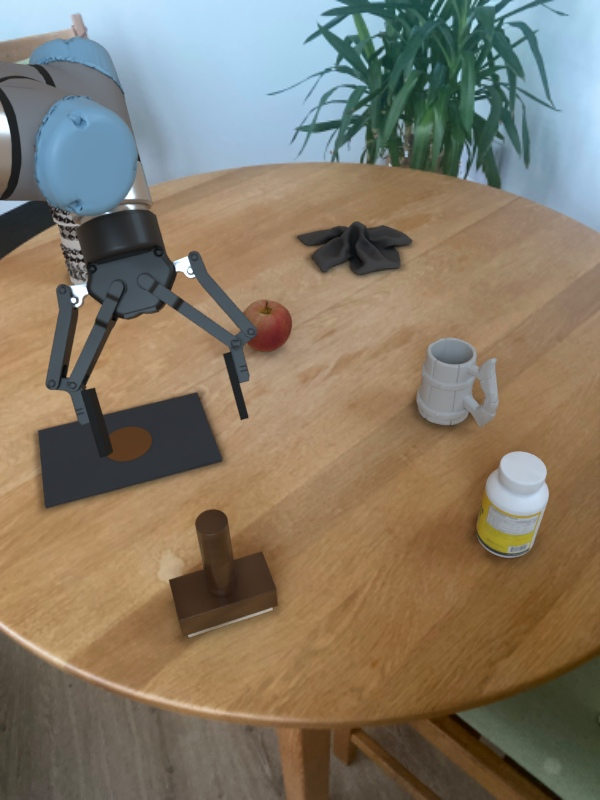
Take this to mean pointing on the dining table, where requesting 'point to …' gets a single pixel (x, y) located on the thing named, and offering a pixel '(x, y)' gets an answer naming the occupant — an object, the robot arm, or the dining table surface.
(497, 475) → the pill bottle
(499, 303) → the dining table surface
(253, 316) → the apple
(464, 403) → the mug
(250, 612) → the scrub brush
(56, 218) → the decorative candle
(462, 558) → the dining table surface
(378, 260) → the cloth
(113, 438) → the stain mat
